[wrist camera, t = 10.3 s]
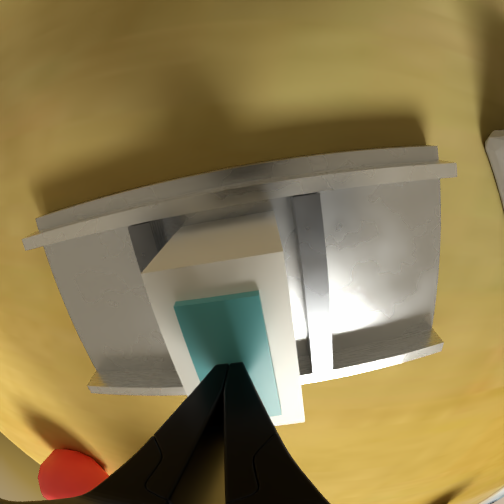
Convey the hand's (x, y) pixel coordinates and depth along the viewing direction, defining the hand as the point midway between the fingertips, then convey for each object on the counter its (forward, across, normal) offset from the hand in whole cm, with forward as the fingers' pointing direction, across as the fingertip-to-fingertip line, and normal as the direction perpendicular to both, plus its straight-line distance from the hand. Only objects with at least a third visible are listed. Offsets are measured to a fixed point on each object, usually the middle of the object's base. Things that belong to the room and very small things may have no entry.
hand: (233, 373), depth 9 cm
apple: (+7, +21, +19) cm, 29 cm away
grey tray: (+6, 0, 0) cm, 6 cm away
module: (+6, 0, 0) cm, 6 cm away
